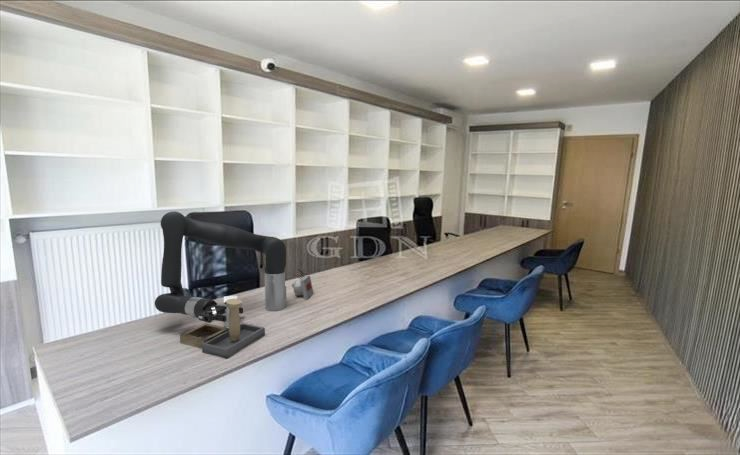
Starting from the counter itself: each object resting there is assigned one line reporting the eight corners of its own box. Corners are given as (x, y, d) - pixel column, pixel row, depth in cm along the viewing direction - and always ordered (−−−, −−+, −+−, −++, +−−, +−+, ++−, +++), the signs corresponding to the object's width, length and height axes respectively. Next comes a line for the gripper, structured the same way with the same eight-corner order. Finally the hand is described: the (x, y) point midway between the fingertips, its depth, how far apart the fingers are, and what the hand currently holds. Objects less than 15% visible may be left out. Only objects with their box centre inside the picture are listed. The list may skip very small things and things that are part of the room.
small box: (224, 319, 153) (223, 296, 151) (238, 318, 155) (237, 294, 153) (223, 327, 145) (222, 302, 144) (238, 325, 147) (237, 301, 146)
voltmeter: (318, 298, 182) (318, 279, 181) (296, 301, 177) (295, 282, 176) (303, 284, 206) (303, 267, 204) (283, 286, 201) (283, 269, 199)
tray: (242, 330, 143) (242, 322, 142) (264, 334, 139) (264, 327, 138) (202, 352, 124) (201, 344, 124) (226, 358, 120) (226, 350, 120)
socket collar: (206, 330, 142) (205, 323, 142) (229, 335, 137) (229, 328, 137) (180, 342, 131) (179, 335, 130) (204, 349, 126) (204, 341, 126)
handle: (236, 335, 135) (235, 297, 133) (245, 341, 131) (244, 302, 129) (224, 339, 132) (223, 300, 129) (233, 345, 127) (232, 305, 125)
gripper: (184, 304, 129) (219, 311, 123) (215, 293, 142) (247, 298, 136) (185, 324, 130) (220, 332, 124) (215, 311, 143) (248, 317, 137)
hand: (234, 314), depth 130 cm, fingers open, 8 cm apart
